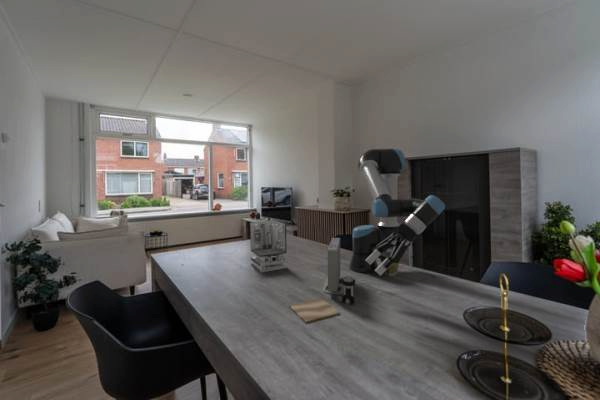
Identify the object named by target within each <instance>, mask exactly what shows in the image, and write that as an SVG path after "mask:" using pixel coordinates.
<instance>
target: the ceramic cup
mask: <svg viewBox="0 0 600 400" xmlns="http://www.w3.org/2000/svg"><path fill="white" fill-rule="evenodd" d="M391 252H392V251H391ZM391 252H390V251H387V252H386V251H383V253H382V254H381V255H380V256H379V258H380V264H381V263H382V262H383V261H384V260H385V259H386V258H387V257H388V256H390V254H391ZM399 266H400V261H399V262H398V263H397V264H396V263H393V264H392V265H391V266H390V267H389V268H388V269H387V270H386V271H385V272H384V273H383V275H385V276H389V277H390V276H392V277H393V276H397V274H398V270H399Z"/></svg>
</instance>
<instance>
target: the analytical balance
mask: <svg viewBox="0 0 600 400" xmlns="http://www.w3.org/2000/svg"><path fill="white" fill-rule="evenodd" d="M249 232H250V234H249V235H250V237H249V238H250V240H249V241H250V251H251V252H252V253H253V254H254V256H250V261H251V263H250V266H252V267H253V268H254V270H255V269H256V271H258V272H259V273H268V272H271V271H278V270H283V269H288V268H287V267H288V265H287V264H286V263H288V259H287V258H286V256H285V254H287V251H288V250H287V247H288V246H287V223H284V222H281V221H278V220H264V221H255V222H252V221H251V222H249Z"/></svg>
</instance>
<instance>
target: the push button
mask: <svg viewBox="0 0 600 400" xmlns="http://www.w3.org/2000/svg"><path fill="white" fill-rule="evenodd" d="M341 283H342V284H343V285H344V290H343V293H342V294H343V295H342V296H338V300H339V301H341V302H342V303H344V304H347V305H348V304H350V305H352V306H354V304H355V303H356V296H355V295H354V286H355V285H356V279H354V278H353V277H352V276H351V275H349V276H346V275H345V276H344V277H343V279H342V280H341Z"/></svg>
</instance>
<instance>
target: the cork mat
mask: <svg viewBox="0 0 600 400" xmlns="http://www.w3.org/2000/svg"><path fill="white" fill-rule="evenodd" d="M288 307H289V308H290V309H291V310H292V311H293V312H294V314H295V315H296V316H298V317H299V318H300V319H301V320H302V322H304V323H305V324H307V323H311V322H316V321H318V320H323V319H326V318H330V317H334V316H339V315H340V314H341V312H340V311H338V309H336V308H334V307H333V306H332V305H331V304H329V303H328V302H326V301H325V300H324V299H323V298H321V297H320V298H319V297H318V298H316V299H311V300H305V301H301V302H298V303H293V304H289V305H288Z"/></svg>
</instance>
